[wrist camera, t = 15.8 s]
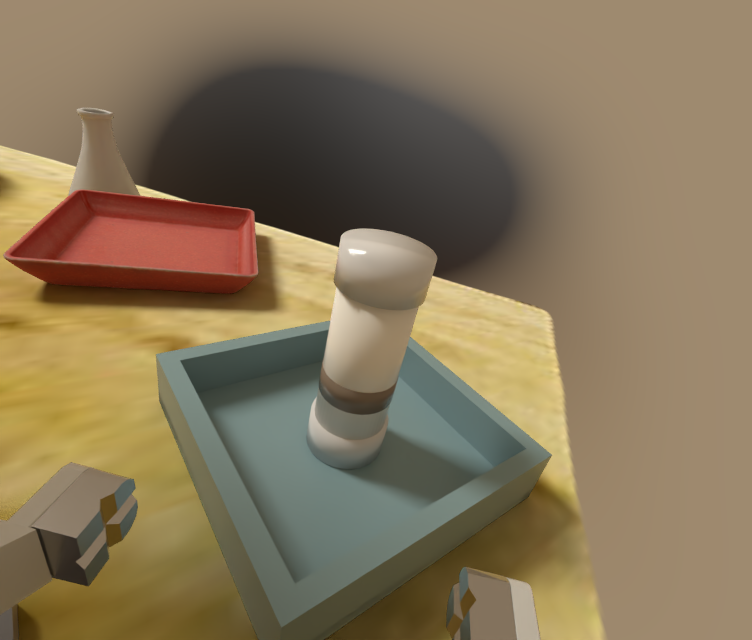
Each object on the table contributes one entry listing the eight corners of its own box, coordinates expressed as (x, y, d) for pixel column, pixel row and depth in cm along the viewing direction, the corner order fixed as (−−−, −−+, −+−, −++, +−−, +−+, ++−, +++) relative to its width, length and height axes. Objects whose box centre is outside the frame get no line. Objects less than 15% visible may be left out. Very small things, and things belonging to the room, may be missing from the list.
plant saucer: (252, 233, 53) (254, 207, 51) (257, 308, 38) (259, 274, 36) (80, 217, 47) (76, 187, 45) (8, 298, 32) (-3, 257, 31)
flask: (153, 201, 54) (147, 116, 49) (114, 216, 48) (103, 120, 43) (99, 188, 55) (88, 102, 50) (53, 201, 48) (36, 104, 43)
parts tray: (159, 401, 26) (155, 354, 24) (371, 347, 35) (379, 311, 34) (273, 675, 16) (281, 627, 14) (528, 496, 25) (552, 455, 23)
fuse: (293, 424, 25) (322, 229, 19) (355, 405, 28) (397, 227, 22) (330, 480, 22) (378, 271, 17) (395, 453, 25) (456, 264, 19)
